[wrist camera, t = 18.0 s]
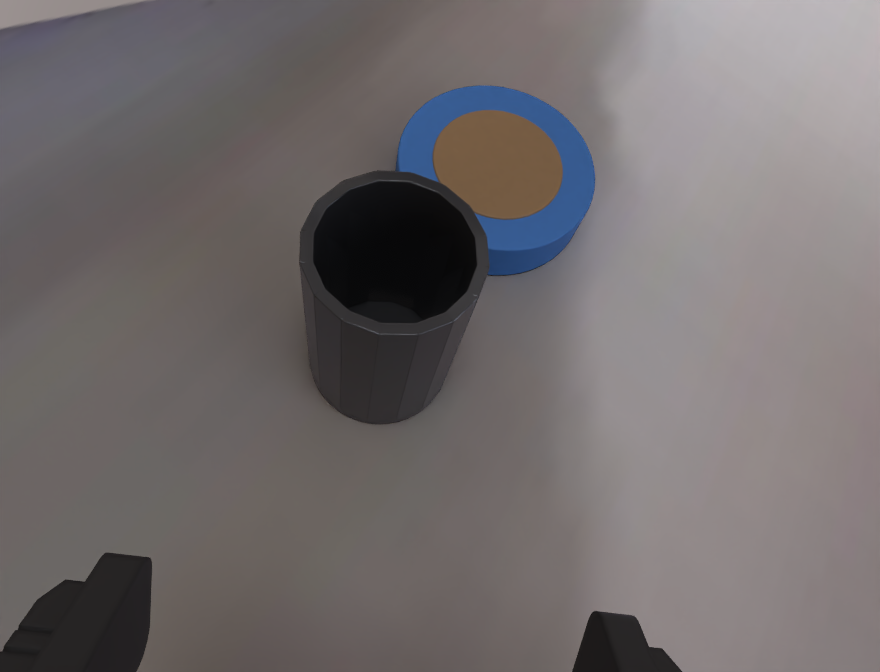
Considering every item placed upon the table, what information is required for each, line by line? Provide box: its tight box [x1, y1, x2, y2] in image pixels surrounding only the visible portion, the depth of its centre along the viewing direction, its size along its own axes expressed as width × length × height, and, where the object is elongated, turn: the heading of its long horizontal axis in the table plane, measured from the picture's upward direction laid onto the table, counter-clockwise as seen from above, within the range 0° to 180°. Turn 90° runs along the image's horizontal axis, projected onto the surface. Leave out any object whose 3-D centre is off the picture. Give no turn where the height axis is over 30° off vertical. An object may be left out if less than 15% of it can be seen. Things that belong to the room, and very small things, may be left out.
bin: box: [299, 171, 490, 424], centre depth 28 cm, size 6×6×10 cm
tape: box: [396, 86, 595, 275], centre depth 36 cm, size 10×10×3 cm
